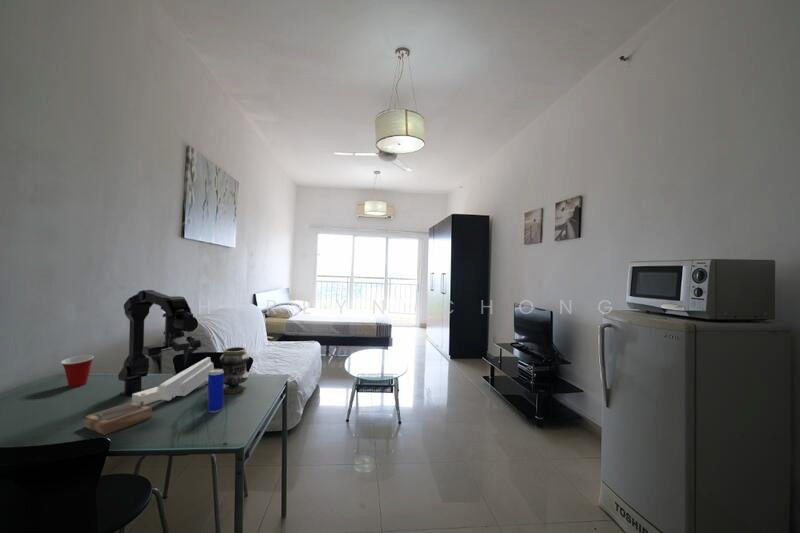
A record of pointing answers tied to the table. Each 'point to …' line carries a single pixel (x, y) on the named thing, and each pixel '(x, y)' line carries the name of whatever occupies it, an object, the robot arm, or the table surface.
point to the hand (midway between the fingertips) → (172, 368)
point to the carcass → (118, 417)
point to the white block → (147, 396)
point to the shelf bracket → (186, 380)
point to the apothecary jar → (234, 369)
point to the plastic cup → (77, 369)
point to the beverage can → (215, 390)
